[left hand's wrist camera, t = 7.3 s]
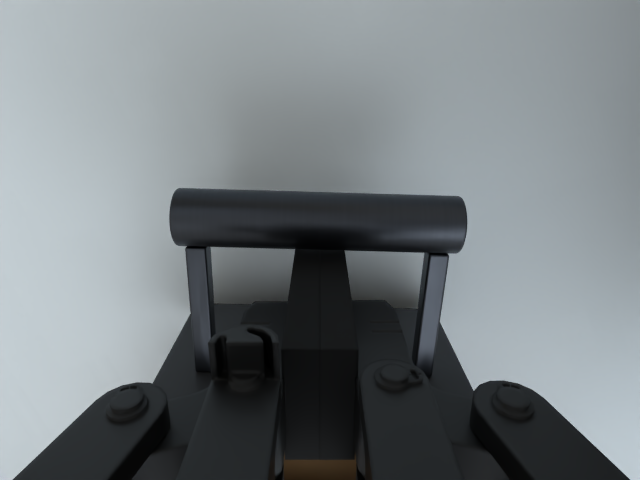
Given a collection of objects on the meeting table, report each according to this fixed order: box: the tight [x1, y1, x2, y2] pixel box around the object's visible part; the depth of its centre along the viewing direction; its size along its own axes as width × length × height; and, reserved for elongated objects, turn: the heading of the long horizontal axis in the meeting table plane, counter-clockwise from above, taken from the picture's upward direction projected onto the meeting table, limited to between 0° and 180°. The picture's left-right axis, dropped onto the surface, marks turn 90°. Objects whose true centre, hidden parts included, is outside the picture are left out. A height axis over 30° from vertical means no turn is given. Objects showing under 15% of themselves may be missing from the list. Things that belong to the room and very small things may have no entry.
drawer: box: [153, 188, 474, 480], centre depth 17 cm, size 23×10×6 cm, turn 178°
